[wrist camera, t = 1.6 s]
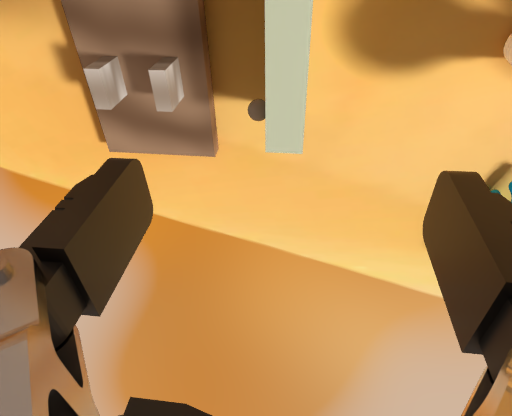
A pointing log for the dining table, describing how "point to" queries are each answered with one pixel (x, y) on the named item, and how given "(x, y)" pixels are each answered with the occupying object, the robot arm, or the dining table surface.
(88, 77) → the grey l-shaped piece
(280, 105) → the door
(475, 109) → the dining table surface
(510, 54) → the lightbulb
